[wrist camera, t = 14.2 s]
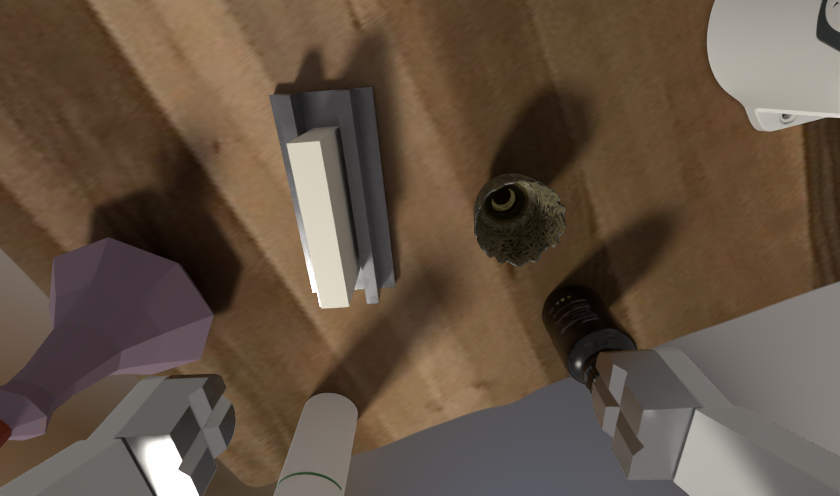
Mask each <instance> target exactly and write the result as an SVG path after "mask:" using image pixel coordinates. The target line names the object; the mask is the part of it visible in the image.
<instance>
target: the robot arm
mask: <svg viewBox="0 0 840 496" xmlns="http://www.w3.org/2000/svg"><path fill="white" fill-rule="evenodd" d="M707 51H708V58H709V62H710V66H711V69H712V72H713V74H714V76H715V78H716V79H717V81H718V83H719V84H720V85H721V87H722V88H723V89H724V90H725V91H726V92H727V93H728V94H730V95H731V96H733V97H734V98H735V99H737V100H738V101H739V102H740V103H741V104H742V105H743V106H744V107H745V110H746V113H747V115H748V118H749V120H750V122H751V124H752V126H753V127H754V128H755V129H756V130H758V131H775V130H779V129H783V128H787V127H791V126H795V125H799V124H803V123H806V122H810V121H814V120H818V119H822V118H826V117H835V118H840V0H715V2H714V4H713V8H712V11H711V15H710V19H709V25H708V32H707ZM782 114H785V115H784V116H783V117H782ZM596 368H597V370H598V372H599V374H600V375H601V376H600V377H599V378H598V379H597V380H596V381H595V382H594V383H593V390H592V400H593V407H594V411H595V414H596V417H597V420H598V422H599V424H600V426H601V428H602V430H604V431H605V432H606V433H608V434H609V435H610V436H612V437H613V438H614V439H613V445H612V450H613V452H614V454H615V456H616V458H617V460H618V462H619V464H620V466H621V468H622V470H623V472H624V473H625V476H626V477H627V480H650V479H651V480H655V479H674V482H675V483H676V484H677V485H678V486H679V487H681V488H682V489H683V490H684V491H685V492H686V493H688V494H689V495H690V496H840V456H839V455H837V454H835V453H833V452H831V451H828V450H827V449H825V448H823V447H821V446H819V445H817V444H815V443H813V442H811V441H809V440H807V439H805V438H803V437H801V436H799V435H797V434H795V433H793V432H791V431H790V430H788V429H785V428H784V427H782V426H780V425H778V424H776V423H774V422H772V421H770V420H768V419H766V418H764V417H762V416H760V415H758V414H756V413H754V412H752V411H750V410H748V409H746V408H744V407H734V406H733V405H732V404H731V403H730V402H729V401H728V400H727V399H726V398H725V397H724V396H723V394H722V393H721V392H720V391H719V390H718V389H717V388H716V387H715V386H714V385H713V384H712V383H711V382H710V381H709V379H708V378H707V377H706V376H705V375H704V374H703V373H702V372H701V371H700V370H699V369H698V368H697V367H696V365H694V363H693V362H692V361H691V360H690V359H689V358H688V357H687V356H686V355H685V354H684V353H683V352H682V350H680V349H678V348H676V347H662V348H649V349H639V350H624V351H608V352H600V353H599V355H598V357H597V361H596ZM225 389H226V386H225V383H224V381H223V379H222V376H220V375H217V374H194V375H171V376H149V377H147V378H145V379H142V380H140V382H139V383H138V384H137V385H136V386H135V387H134V388H133V389H132V390H131V392H130V393H129V394H128V395H127V396H126V397H125V398H124V399H123V400H122V402H121V403H120V404H119V405H118V406H117V407H116V408H115V409H114V410H113V412H112V413H111V414H110V415H109V416H108V417H107V418H106V419H105V420H104V421H103V423H102V424H101V425H100V426H99V427H98V428H97V429H96V430H95V431H94V432H93V433H92V435H91V436H90V437H89V438H88V439H87V440H84V441H77V442H76V443H74V444H72V445H71V446H69V447H67V448H66V449H64V450H63V451H61V452H59V453H57V454H56V455H54V456H52V457H51V458H49V459H48V460H46V461H44V462H43V463H41V464H39V465H38V466H36V467H34V468H32V469H31V470H29V471H27V472H26V473H24V474H23V475H21V476H19V477H18V478H16V479H14V480H12V481H11V482H9V483H7V484H6V485H4V486H2V487H1V488H0V496H203V494H204V492H205V490H206V489H207V486H208V485H209V482H210V481H211V479H212V477H213V475H214V473H215V471H216V469H217V466H216V461H215V458H216V457H217V456H218V455H220V454H221V453H222V452H223V451H224V450H226V449H227V447H228V445H229V443H230V441H231V439H232V437H233V433H234V428H235V423H236V418H235V410H234V407H233V404H232V402H230V401H229V400H228V399H226V398H225V397H224V396H222V395H223V393H224V391H225Z"/></svg>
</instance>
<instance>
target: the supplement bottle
mask: <svg viewBox="0 0 840 496" xmlns="http://www.w3.org/2000/svg"><path fill="white" fill-rule="evenodd" d="M542 319H543V323H544V325H545V327H546V330H547V332H548V334H549V336H550V338H551V340H552V342H553V344H554V346H555V348H556V350H557V352H558V354H559V356H560V358H561V360H562V362H563V364H564V366H565V368H566V370H567V371H568V373H569V374H570V375H571V377H572V378H574V379H575V380H576V381H578V382H579V383H581V384H584V385H586V387H587V388H588V389H589V390H590V392H591V394H592V390H593V383H594V382H595V381H596V380H597V379H598V378H599V377H600V376H601V375H600V374H599V372H598V370H597V368H596V361H597V357H598V355H599V353H600V352H608V351H624V350H638V348H637V345H636V342H635V340H634V339H633V338H632V336H631V335H630V334H629V332H628V331H627V330H626V329H625V327H624V326H623V325H622V324H621V322H620V321H619V320H618V319H617V317H616V316H615V315H614V314H613V313H612V311H611V310H610V309H609V308H608V306H607V305H606V304H605V303H604V302H603V300H602V299H601V298H600V297H599V296H598V295H597V294H596V293H595V292H594V291H593V290H591V289H589V288H586V287H582V286H569V287H565V288H562V289H560V290H558V291H557V292H555V293H554V294H552V295H551V296H550V297H549V298H548V300H547V301H546V303H545V305H544V307H543V311H542Z"/></svg>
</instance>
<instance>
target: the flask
mask: <svg viewBox="0 0 840 496" xmlns="http://www.w3.org/2000/svg"><path fill="white" fill-rule="evenodd" d="M49 312H50V317H51V323H52V328H53V331H52V332H51V333H50V335H49V336H48V337H47V338H46V340H45V341H44V342H43V344H42V345H41V346H40V348H39V349H38V350H37V352H36V353H35V354H34V356H33V357H32V358H31V360H30V361H29V362H28V363H27V365H26V366H25V367H24V368H23V369H22V370H21V371H20V372H19V373H18V374H17V375H15V376H14V377H13V378H12V379H11V380H10V381H9V382H8V383H7V384H5V385H2V386H0V447H1V446H2V445H3V444H4V443H5V442H6V441H7V440H26V439H30V438H33V437H36V436H39V435H43V434H45V432H46V430H47V427H48V424H49V422H50V419H51V416H52V413H53V411H54V410H56V409H57V408H58V407H59V406H61V405H62V404H63V403H65V402H66V401H67V400H68V399H69V398H71V397H72V396H73V395H75V394H77V393H78V392H80V391H82V390H84V389H85V388H87V387H89V386H91V385H92V384H94V383H96V382H98V381H99V380H101V379H103V378H104V377H106V376H108V375H116V374H150V375H151V374H155V373H158V372H161V371H164V370H167V369H171V368H174V367H177V366H180V365H184V364H187V363H190V362H193V361H196V360H200V359H201V356H202V353H203V350H204V346H205V343H206V339H207V336H208V333H209V329H210V326H211V323H212V319H213V316H214V314H213V313H212V311H211V309H210V308H209V306H208V304H207V303H206V301H205V299H204V297H203V296H202V294H201V292H200V291H199V289H198V288H197V286H196V285H195V284H194V282H193V281H192V279H191V278H190V276H189V275H188V273H187V272H186V271H185V269H184V268H183V266H182V265H181V264H179V263H176V262H174V261H171V260H168V259H166V258H163V257H160V256H158V255H155V254H152V253H150V252H147V251H144V250H142V249H139V248H136V247H134V246H131V245H128V244H125V243H123V242H120V241H117V240H115V239H112V238H109V237H108V238H105V239H102V240H100V241H97V242H94V243H92V244H89V245H86V246H84V247H81V248H78V249H76V250H73V251H70V252H68V253H65V254H62V255H60V256H57V257H54V258H53V267H52V279H51V290H50V303H49Z"/></svg>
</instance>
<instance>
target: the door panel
mask: <svg viewBox="0 0 840 496" xmlns="http://www.w3.org/2000/svg"><path fill="white" fill-rule="evenodd" d="M287 149H288V153H289V158H290V163H291V167H292V172H293V177H294V181H295V186H296V191H297V196H298V200H299V205H300V210H301V214H302V219H303V224H304V228H305V233H306V238H307V242H308V247H309V252H310V256H311V261H312V266H313V270H314V275H315V280H316V284H317V289H318V294H319V299H320V303H321V308H337V307H349V306H350V302H351V299H352V295H353V292H354V289H355V285H356V282H357V278H358V275H359V271H360V268H361V261H360V255H359V248H358V242H357V235H356V229H355V223H354V216H353V210H352V203H351V197H350V190H349V184H348V177H347V171H346V164H345V158H344V151H343V145H342V139H341V132H340V126H333V127H320V128H313V129H311V130H309V131H308V132H306V133H304V134H302V135H301V136H299V137H297V138H296V139H294V140H292V141H290V142H289V143H287Z"/></svg>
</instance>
